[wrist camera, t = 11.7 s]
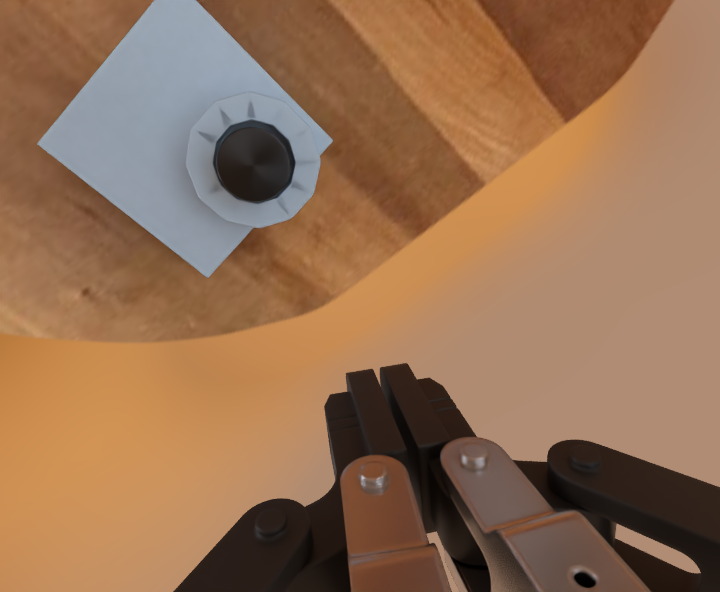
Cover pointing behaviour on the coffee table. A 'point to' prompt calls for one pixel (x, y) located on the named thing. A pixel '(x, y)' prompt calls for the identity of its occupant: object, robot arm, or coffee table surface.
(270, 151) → the button
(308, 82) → the coffee table surface
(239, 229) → the button box
